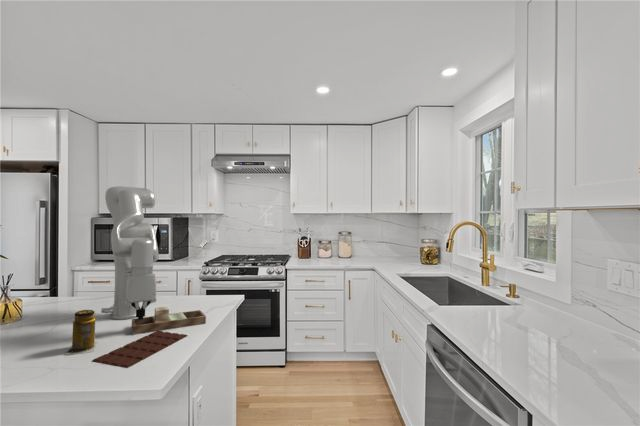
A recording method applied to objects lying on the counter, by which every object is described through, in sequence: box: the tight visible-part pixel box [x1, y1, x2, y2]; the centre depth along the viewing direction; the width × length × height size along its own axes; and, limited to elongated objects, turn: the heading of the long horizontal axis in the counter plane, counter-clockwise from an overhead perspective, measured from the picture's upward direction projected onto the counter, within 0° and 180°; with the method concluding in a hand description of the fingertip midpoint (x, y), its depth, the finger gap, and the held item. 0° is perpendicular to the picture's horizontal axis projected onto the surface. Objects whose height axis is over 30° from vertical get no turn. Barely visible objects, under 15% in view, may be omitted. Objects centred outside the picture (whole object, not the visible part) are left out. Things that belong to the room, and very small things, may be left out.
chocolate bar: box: [91, 330, 188, 369], centre depth 110 cm, size 27×14×1 cm, turn 165°
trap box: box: [131, 309, 207, 335], centre depth 132 cm, size 26×10×3 cm, turn 123°
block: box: [154, 306, 170, 321], centre depth 130 cm, size 4×4×4 cm
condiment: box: [65, 309, 98, 356], centre depth 107 cm, size 7×8×12 cm
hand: (140, 318), depth 126 cm, fingers closed
